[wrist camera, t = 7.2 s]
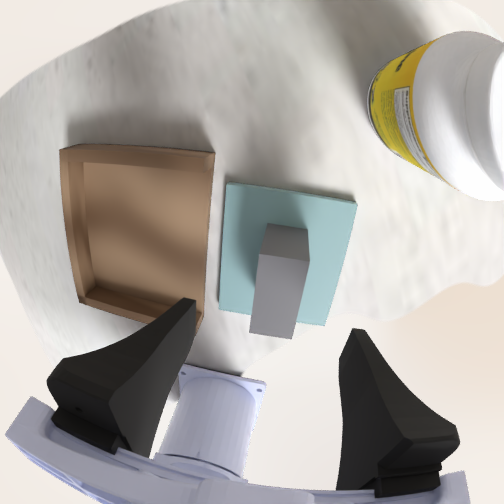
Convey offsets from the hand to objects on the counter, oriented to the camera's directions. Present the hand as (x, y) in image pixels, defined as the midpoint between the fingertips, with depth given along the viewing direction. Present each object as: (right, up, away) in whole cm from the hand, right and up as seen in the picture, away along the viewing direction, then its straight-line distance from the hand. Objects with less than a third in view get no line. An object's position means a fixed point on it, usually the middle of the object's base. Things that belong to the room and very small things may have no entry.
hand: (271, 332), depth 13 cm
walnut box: (-9, +5, +7) cm, 12 cm away
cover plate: (+1, +3, +6) cm, 7 cm away
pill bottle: (+8, +12, +1) cm, 15 cm away
